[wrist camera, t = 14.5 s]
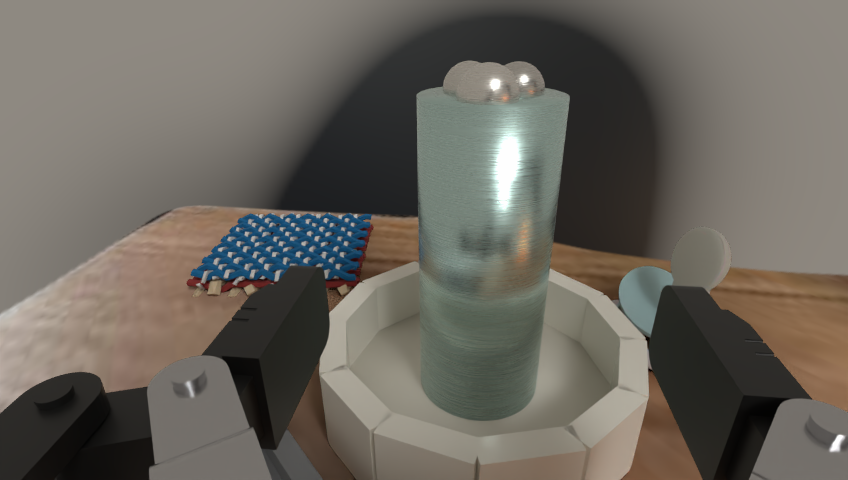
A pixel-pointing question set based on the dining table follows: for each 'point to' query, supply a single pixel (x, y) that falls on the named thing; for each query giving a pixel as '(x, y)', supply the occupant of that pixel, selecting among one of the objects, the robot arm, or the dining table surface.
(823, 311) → the dining table surface
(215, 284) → the woven mat
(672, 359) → the robot arm
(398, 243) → the dining table surface
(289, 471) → the parts tray
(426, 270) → the teal cylinder
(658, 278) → the pacifier
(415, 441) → the bowl
